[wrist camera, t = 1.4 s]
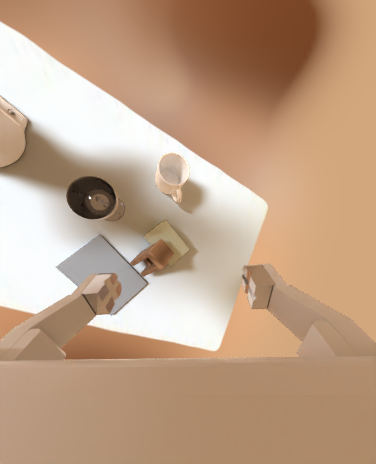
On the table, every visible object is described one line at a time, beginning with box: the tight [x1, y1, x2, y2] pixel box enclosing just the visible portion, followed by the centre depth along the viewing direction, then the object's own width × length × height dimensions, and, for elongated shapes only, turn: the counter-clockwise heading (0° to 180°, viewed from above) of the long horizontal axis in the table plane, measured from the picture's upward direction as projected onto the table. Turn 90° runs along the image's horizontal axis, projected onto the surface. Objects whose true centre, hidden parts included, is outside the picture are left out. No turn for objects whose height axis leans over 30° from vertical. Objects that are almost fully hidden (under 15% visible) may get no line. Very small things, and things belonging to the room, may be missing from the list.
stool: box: [131, 239, 174, 277], centre depth 38 cm, size 6×11×11 cm, turn 129°
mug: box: [155, 152, 190, 203], centre depth 40 cm, size 12×8×10 cm
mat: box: [56, 235, 147, 316], centre depth 39 cm, size 20×13×1 cm, turn 39°
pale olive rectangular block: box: [144, 220, 190, 267], centre depth 43 cm, size 12×8×4 cm, turn 39°
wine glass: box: [66, 176, 125, 221], centre depth 32 cm, size 8×8×15 cm
